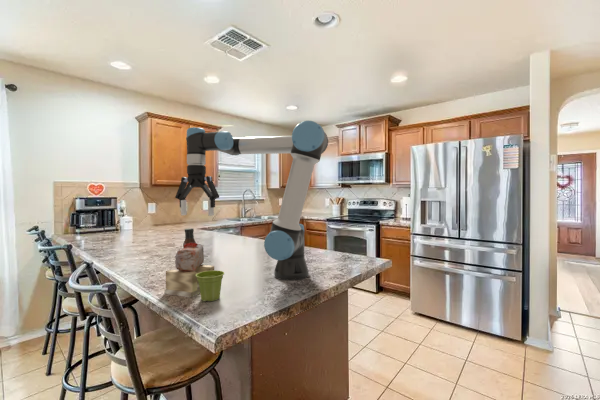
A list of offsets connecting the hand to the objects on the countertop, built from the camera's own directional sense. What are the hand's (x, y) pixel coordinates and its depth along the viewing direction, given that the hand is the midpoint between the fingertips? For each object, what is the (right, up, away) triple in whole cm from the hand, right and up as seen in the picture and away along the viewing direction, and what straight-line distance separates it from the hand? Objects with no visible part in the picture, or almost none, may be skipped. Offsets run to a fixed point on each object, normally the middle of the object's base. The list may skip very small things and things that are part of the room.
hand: (197, 215), depth 123 cm
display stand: (+2, -27, -13) cm, 30 cm away
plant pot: (+13, -28, -23) cm, 38 cm away
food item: (+2, -20, -13) cm, 24 cm away
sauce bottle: (-9, -27, +17) cm, 33 cm away
